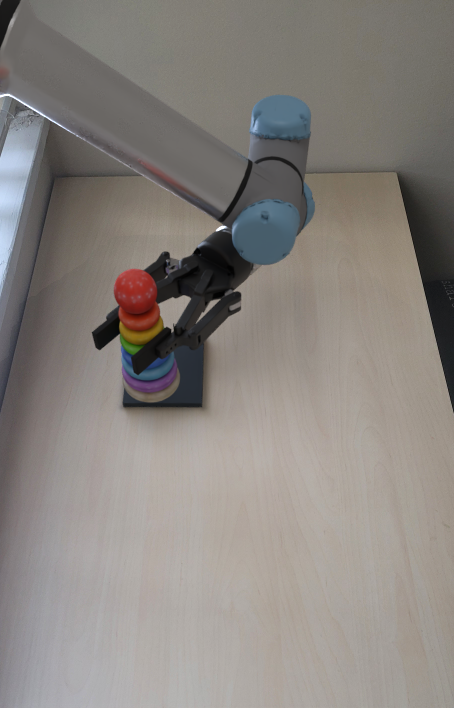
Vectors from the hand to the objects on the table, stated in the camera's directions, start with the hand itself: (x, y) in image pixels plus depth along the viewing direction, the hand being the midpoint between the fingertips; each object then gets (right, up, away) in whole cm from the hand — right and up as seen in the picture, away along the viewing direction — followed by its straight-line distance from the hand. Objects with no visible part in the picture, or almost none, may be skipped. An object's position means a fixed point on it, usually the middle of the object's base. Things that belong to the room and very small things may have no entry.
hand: (115, 353), depth 79 cm
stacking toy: (+3, -2, +11) cm, 11 cm away
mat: (+4, +2, +22) cm, 23 cm away
